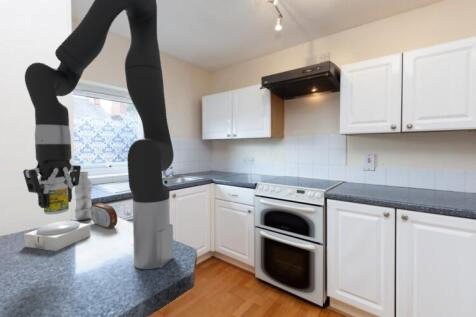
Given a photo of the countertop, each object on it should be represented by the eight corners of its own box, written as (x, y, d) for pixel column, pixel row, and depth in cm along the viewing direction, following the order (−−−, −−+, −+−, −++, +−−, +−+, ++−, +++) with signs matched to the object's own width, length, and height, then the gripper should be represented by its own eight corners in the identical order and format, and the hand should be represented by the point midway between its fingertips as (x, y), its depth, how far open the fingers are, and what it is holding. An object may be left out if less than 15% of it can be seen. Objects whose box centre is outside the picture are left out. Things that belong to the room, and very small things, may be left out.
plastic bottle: (70, 221, 94) (68, 172, 93) (84, 216, 101) (83, 171, 99) (83, 222, 92) (81, 173, 91) (97, 217, 99) (95, 171, 98)
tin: (118, 228, 87) (117, 206, 86) (110, 231, 84) (109, 208, 83) (97, 221, 95) (97, 201, 94) (89, 223, 92) (88, 202, 91)
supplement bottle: (69, 208, 66) (68, 175, 66) (68, 212, 62) (66, 177, 61) (45, 211, 63) (43, 176, 63) (42, 216, 59) (40, 179, 58)
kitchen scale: (90, 235, 80) (90, 221, 79) (54, 251, 67) (53, 235, 67) (62, 232, 82) (62, 219, 82) (23, 247, 70) (22, 231, 70)
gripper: (35, 142, 54) (39, 213, 55) (88, 143, 68) (90, 199, 69) (11, 142, 55) (15, 211, 56) (67, 143, 69) (69, 198, 70)
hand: (56, 204), depth 63 cm, fingers closed on supplement bottle, 5 cm apart
